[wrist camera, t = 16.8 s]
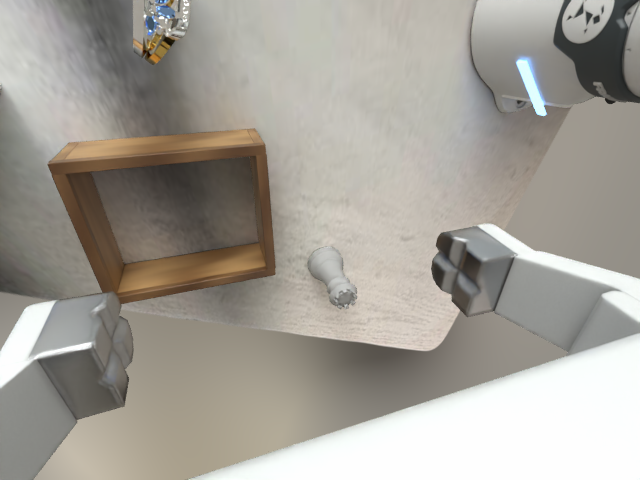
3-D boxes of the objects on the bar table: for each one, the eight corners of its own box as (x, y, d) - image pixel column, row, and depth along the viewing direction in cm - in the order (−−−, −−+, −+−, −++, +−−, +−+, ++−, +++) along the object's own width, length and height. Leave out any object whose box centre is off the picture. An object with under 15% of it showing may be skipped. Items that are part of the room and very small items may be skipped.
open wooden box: (255, 128, 33) (265, 144, 29) (266, 247, 40) (276, 275, 36) (67, 141, 29) (45, 163, 24) (118, 272, 36) (108, 306, 32)
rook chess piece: (320, 279, 45) (342, 321, 39) (299, 261, 43) (318, 304, 36) (346, 257, 45) (372, 296, 38) (325, 238, 42) (350, 277, 36)
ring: (164, 66, 28) (157, 79, 22) (124, 36, 26) (103, 41, 20) (211, -12, 27) (218, -23, 20) (171, -49, 25) (165, -74, 18)
